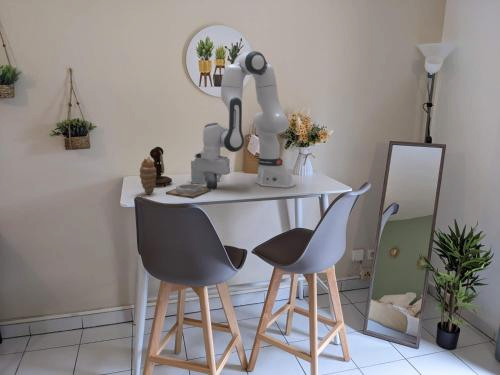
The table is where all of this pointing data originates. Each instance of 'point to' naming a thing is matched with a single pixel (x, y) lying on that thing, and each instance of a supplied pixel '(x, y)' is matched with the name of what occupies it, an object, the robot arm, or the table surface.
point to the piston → (211, 180)
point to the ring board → (203, 190)
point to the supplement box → (196, 175)
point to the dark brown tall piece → (159, 166)
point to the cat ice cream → (148, 175)
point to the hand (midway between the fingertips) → (212, 181)
